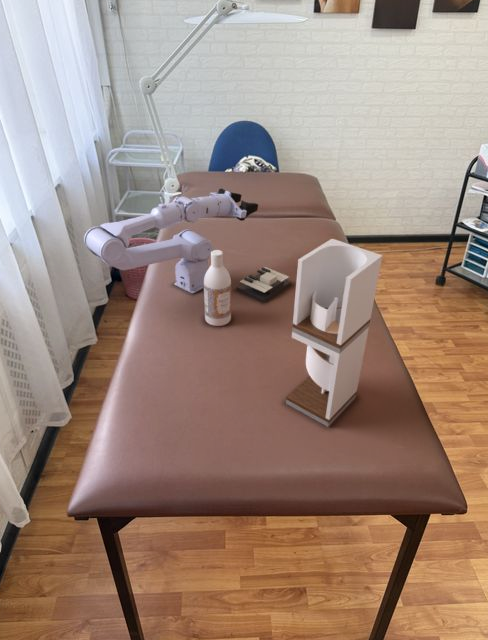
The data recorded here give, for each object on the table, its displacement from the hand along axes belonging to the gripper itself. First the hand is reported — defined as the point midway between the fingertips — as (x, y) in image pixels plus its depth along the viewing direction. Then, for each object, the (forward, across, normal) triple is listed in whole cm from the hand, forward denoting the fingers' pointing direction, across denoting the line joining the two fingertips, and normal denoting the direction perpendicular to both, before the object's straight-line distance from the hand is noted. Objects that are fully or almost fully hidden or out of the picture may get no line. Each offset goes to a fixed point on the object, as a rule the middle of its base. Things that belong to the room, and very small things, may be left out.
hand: (248, 202), depth 151 cm
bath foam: (-24, -21, +23) cm, 39 cm away
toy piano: (-4, -17, +20) cm, 26 cm away
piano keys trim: (-4, -17, +17) cm, 24 cm away
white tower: (-26, -60, +20) cm, 68 cm away
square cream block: (-4, -18, +17) cm, 25 cm away
